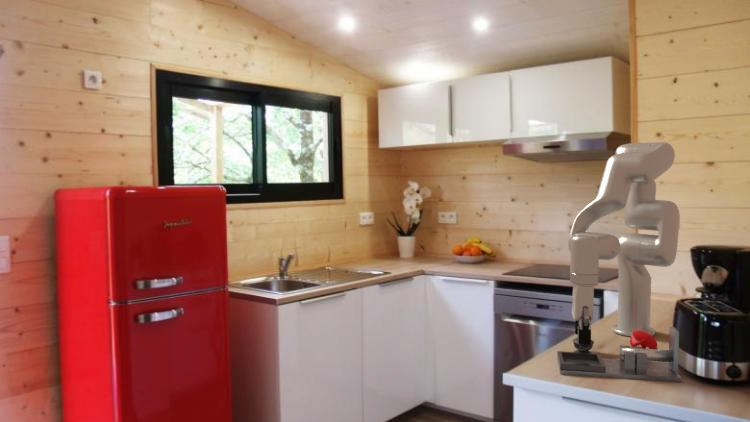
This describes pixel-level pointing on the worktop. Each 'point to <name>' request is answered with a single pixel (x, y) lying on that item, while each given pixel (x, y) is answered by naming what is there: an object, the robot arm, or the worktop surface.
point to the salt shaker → (582, 347)
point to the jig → (615, 366)
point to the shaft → (661, 351)
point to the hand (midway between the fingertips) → (582, 339)
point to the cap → (643, 340)
